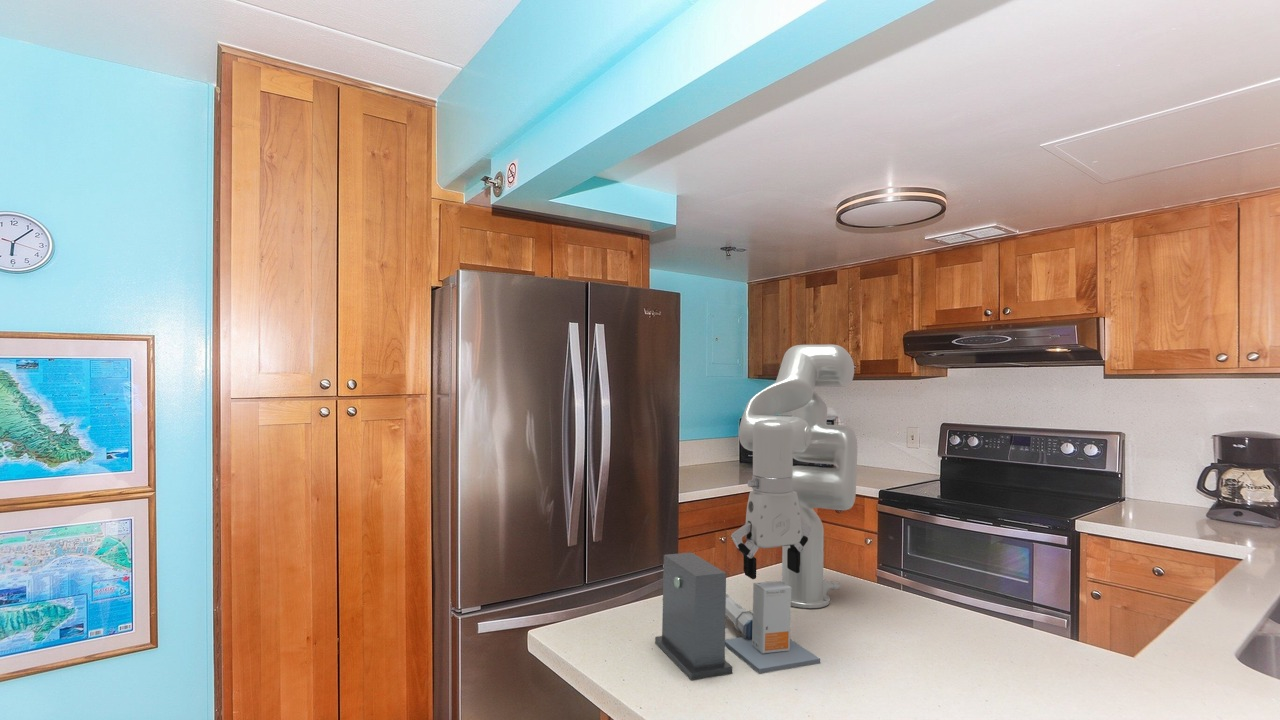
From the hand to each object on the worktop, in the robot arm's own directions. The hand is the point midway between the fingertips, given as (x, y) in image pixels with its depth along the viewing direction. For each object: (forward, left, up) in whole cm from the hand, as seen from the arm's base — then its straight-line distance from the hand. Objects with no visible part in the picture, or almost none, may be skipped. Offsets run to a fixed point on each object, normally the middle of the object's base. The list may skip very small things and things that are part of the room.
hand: (772, 573), depth 117 cm
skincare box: (0, 0, -14) cm, 14 cm away
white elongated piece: (+1, -16, -14) cm, 22 cm away
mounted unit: (+16, -2, -15) cm, 22 cm away
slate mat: (+1, +1, -15) cm, 15 cm away
